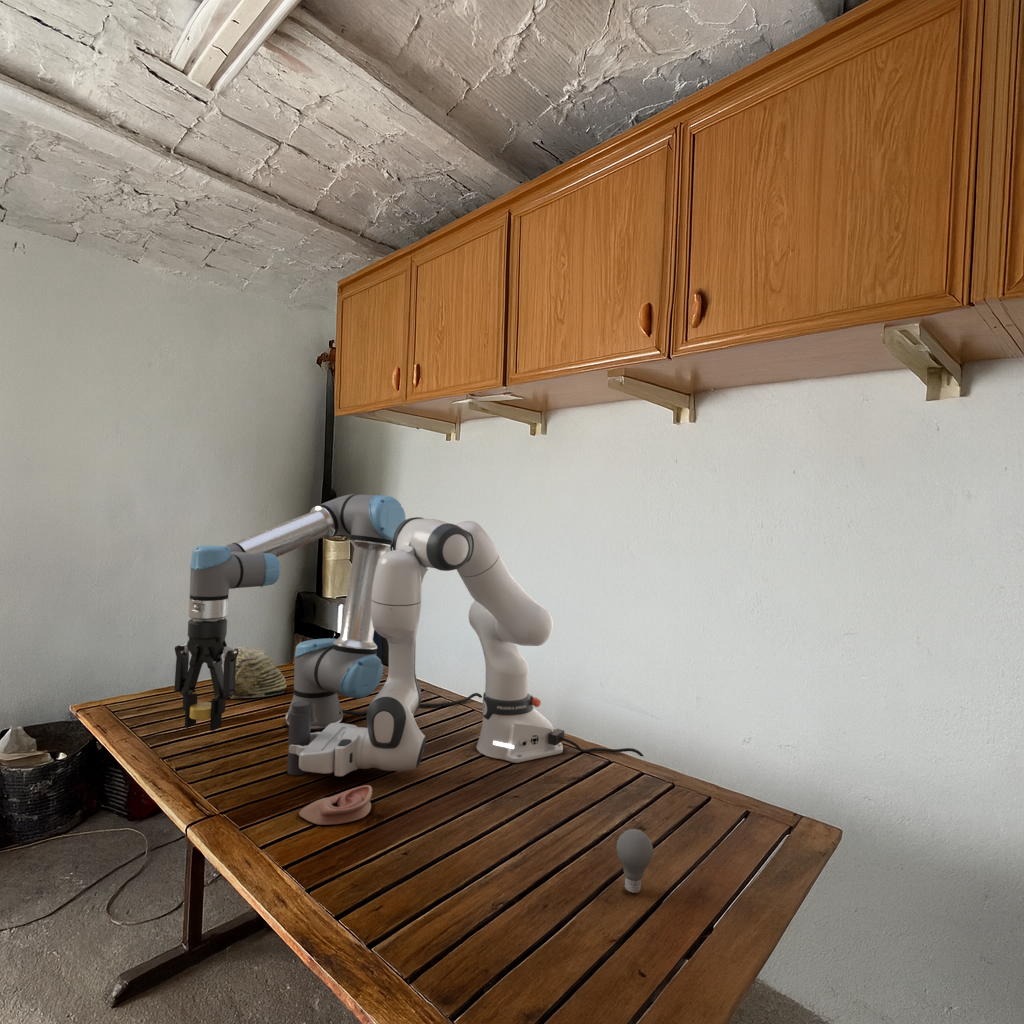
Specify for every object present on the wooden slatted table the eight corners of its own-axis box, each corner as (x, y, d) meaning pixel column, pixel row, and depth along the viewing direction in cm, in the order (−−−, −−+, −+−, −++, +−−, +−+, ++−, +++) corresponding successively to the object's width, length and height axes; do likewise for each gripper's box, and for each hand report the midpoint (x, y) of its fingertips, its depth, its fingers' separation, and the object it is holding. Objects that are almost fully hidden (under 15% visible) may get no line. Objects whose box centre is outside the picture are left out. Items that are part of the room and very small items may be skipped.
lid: (197, 721, 131) (198, 711, 131) (184, 715, 134) (185, 705, 134) (221, 715, 135) (222, 705, 135) (208, 709, 138) (209, 700, 138)
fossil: (218, 695, 195) (220, 647, 195) (278, 685, 208) (279, 640, 207) (228, 703, 189) (230, 653, 188) (289, 692, 201) (290, 645, 201)
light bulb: (610, 879, 108) (613, 822, 108) (644, 879, 109) (647, 822, 109) (619, 902, 102) (622, 840, 102) (655, 901, 103) (658, 840, 103)
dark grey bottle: (293, 765, 148) (296, 699, 148) (312, 768, 148) (315, 701, 147) (283, 774, 144) (285, 705, 143) (302, 776, 143) (305, 707, 143)
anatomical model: (291, 800, 123) (320, 775, 134) (290, 820, 123) (320, 794, 134) (354, 810, 120) (379, 784, 132) (353, 830, 121) (378, 803, 132)
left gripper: (157, 617, 132) (152, 728, 133) (236, 624, 129) (231, 738, 130) (181, 612, 140) (176, 717, 140) (257, 618, 137) (252, 725, 137)
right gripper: (368, 718, 155) (313, 714, 156) (340, 750, 135) (276, 746, 135) (367, 743, 155) (312, 739, 156) (338, 780, 135) (275, 775, 136)
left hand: (203, 726), depth 135 cm, fingers closed on lid, 5 cm apart
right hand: (295, 743), depth 146 cm, fingers closed on dark grey bottle, 5 cm apart
